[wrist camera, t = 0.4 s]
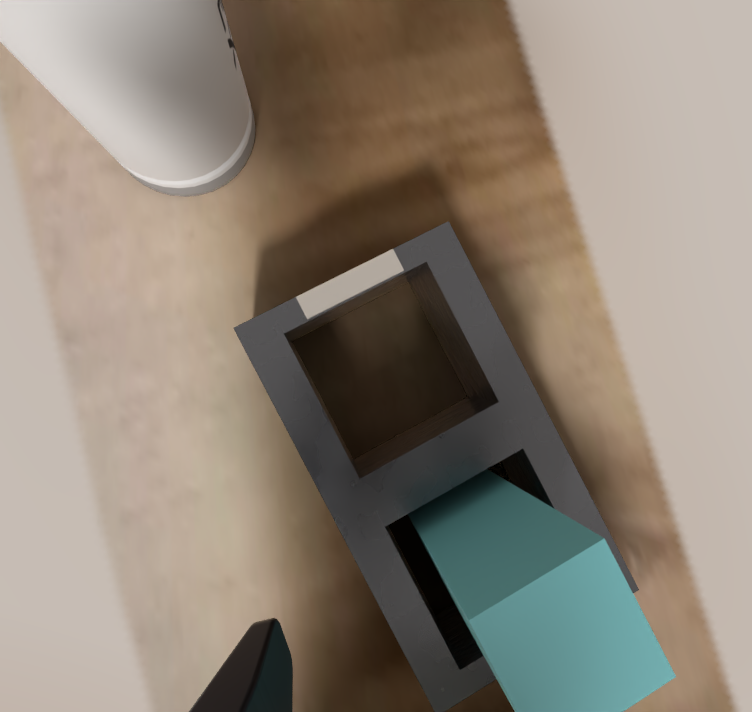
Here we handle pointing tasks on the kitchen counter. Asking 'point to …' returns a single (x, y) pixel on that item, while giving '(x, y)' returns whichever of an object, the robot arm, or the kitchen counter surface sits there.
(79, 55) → the travel mug
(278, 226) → the kitchen counter surface
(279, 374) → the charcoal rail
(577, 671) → the teal peg
